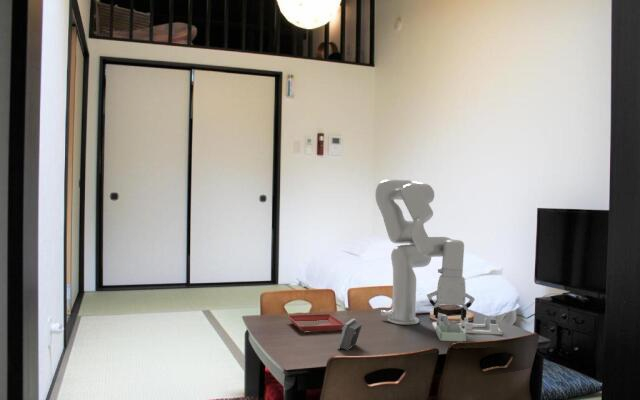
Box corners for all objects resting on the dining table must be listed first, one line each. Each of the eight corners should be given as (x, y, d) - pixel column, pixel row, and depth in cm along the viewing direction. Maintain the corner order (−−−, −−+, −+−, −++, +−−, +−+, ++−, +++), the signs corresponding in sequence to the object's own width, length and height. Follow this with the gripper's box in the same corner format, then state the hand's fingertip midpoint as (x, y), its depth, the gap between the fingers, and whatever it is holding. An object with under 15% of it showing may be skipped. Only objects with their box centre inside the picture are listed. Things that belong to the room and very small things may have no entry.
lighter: (455, 334, 201) (456, 312, 201) (458, 335, 200) (459, 313, 200) (440, 335, 198) (441, 314, 198) (443, 336, 197) (444, 315, 197)
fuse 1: (440, 330, 209) (440, 317, 209) (438, 325, 215) (438, 313, 215) (445, 330, 209) (445, 317, 209) (443, 326, 215) (443, 313, 215)
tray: (440, 340, 194) (440, 332, 194) (436, 332, 205) (436, 324, 205) (466, 341, 193) (466, 333, 193) (460, 333, 204) (460, 326, 204)
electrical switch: (346, 342, 187) (349, 316, 187) (359, 346, 186) (363, 320, 185) (336, 349, 179) (339, 322, 178) (351, 353, 177) (354, 326, 176)
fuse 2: (490, 332, 207) (490, 319, 207) (486, 328, 214) (486, 315, 214) (495, 332, 207) (495, 319, 207) (491, 328, 214) (491, 316, 213)
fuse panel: (435, 331, 207) (436, 321, 207) (432, 324, 218) (432, 315, 218) (502, 334, 204) (502, 325, 204) (495, 327, 216) (495, 318, 216)
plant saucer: (329, 321, 220) (329, 313, 220) (345, 332, 203) (345, 323, 203) (287, 323, 214) (287, 315, 214) (299, 335, 197) (299, 326, 197)
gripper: (429, 273, 196) (427, 319, 197) (477, 276, 194) (475, 323, 195) (427, 269, 203) (424, 314, 204) (473, 272, 202) (471, 317, 203)
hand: (449, 318), depth 200 cm, fingers open, 9 cm apart
